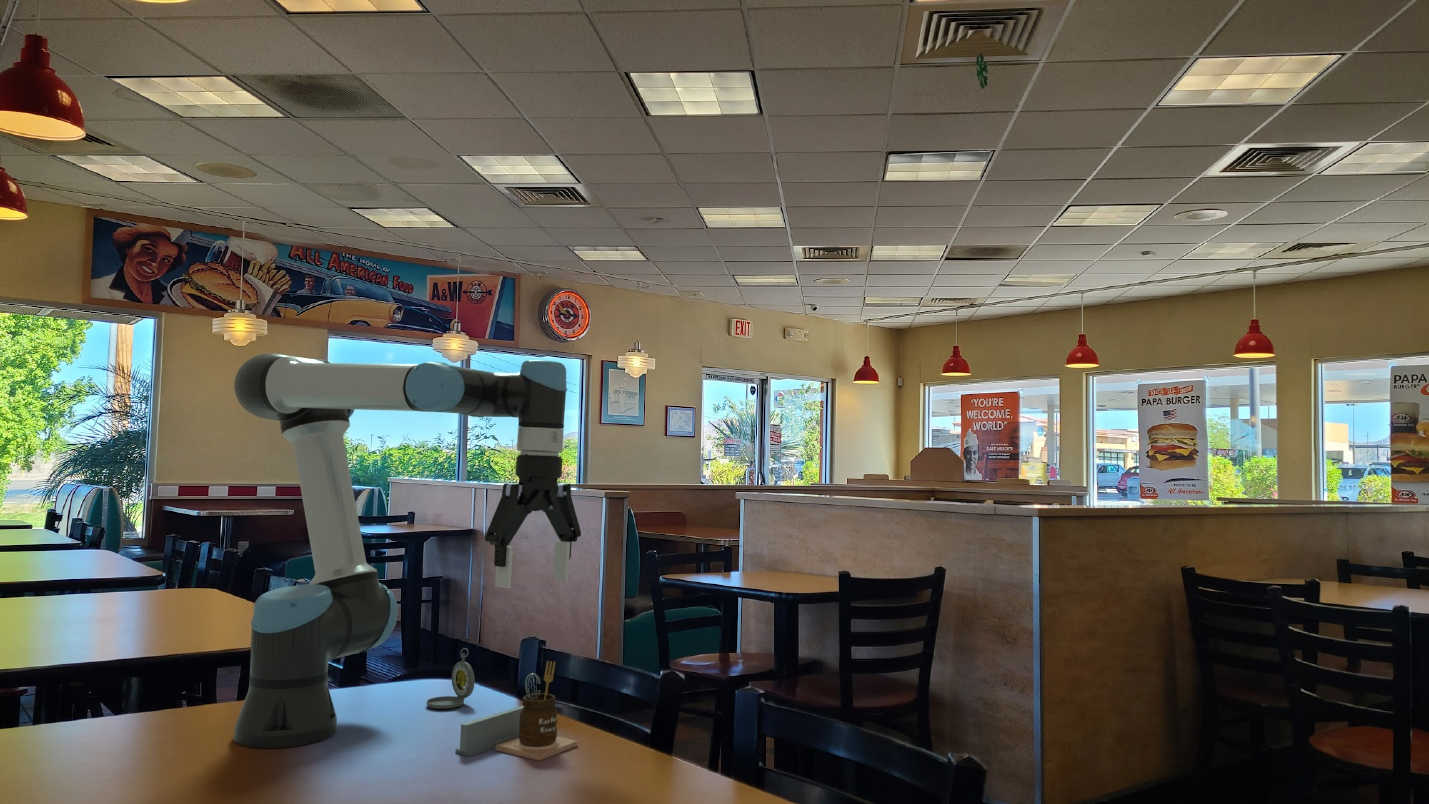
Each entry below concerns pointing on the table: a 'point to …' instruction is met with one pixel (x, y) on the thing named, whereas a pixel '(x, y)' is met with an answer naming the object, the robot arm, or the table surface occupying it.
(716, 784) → the table surface
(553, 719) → the utensil holder
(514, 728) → the low wall
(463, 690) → the pocket watch
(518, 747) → the coaster
